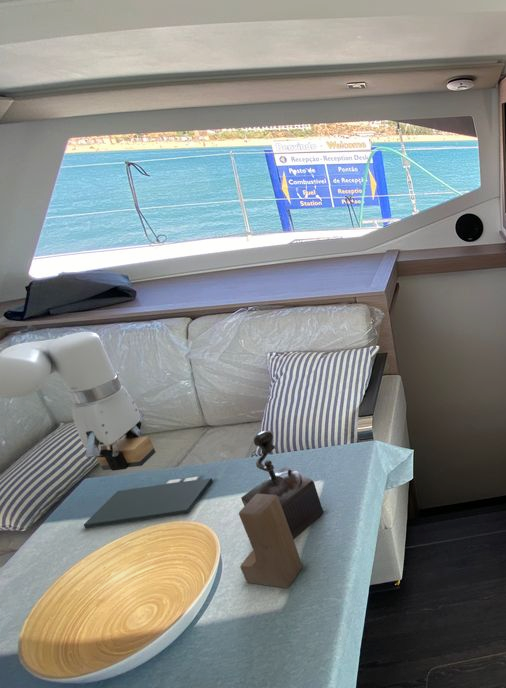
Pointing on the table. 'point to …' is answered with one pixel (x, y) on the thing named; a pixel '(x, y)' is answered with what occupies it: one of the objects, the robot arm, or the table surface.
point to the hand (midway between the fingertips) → (129, 459)
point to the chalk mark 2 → (191, 479)
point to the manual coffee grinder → (287, 489)
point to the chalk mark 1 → (174, 481)
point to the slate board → (149, 502)
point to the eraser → (132, 451)
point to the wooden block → (269, 543)
